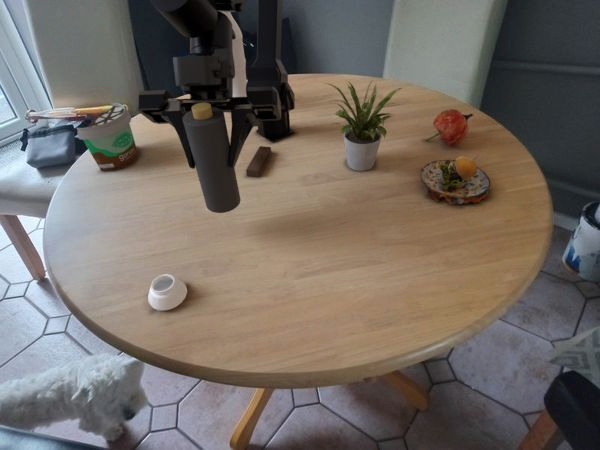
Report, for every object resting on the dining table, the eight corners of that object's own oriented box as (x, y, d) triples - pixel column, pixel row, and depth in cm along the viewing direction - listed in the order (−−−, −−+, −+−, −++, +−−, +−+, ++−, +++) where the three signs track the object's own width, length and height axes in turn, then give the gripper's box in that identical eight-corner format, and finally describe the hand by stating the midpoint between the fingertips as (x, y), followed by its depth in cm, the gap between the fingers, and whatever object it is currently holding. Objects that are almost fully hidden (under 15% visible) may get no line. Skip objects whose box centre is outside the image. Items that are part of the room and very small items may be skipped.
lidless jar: (194, 288, 51) (165, 278, 53) (189, 274, 49) (159, 264, 51) (172, 317, 48) (142, 305, 50) (166, 303, 46) (134, 291, 48)
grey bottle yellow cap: (229, 187, 59) (209, 94, 49) (247, 202, 56) (229, 106, 46) (200, 201, 57) (172, 106, 46) (216, 218, 54) (191, 120, 43)
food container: (124, 177, 73) (104, 131, 66) (96, 175, 74) (74, 129, 67) (154, 146, 82) (139, 102, 75) (129, 144, 83) (112, 101, 76)
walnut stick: (260, 152, 78) (259, 146, 77) (271, 153, 78) (270, 146, 77) (247, 176, 72) (245, 169, 71) (258, 177, 71) (257, 170, 70)
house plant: (306, 174, 71) (303, 90, 60) (332, 141, 80) (334, 63, 69) (378, 191, 66) (389, 103, 55) (398, 153, 75) (410, 71, 64)
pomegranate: (432, 160, 77) (481, 138, 71) (415, 131, 75) (464, 105, 69) (435, 146, 83) (481, 125, 77) (419, 118, 80) (465, 94, 75)
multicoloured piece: (453, 161, 72) (463, 125, 67) (503, 192, 64) (518, 154, 60) (404, 178, 69) (410, 143, 64) (450, 214, 61) (462, 176, 56)
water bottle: (250, 112, 93) (234, -3, 76) (221, 113, 93) (199, -1, 76) (253, 100, 98) (238, -10, 81) (226, 101, 98) (206, -8, 82)
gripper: (113, 24, 44) (112, 155, 43) (271, 17, 43) (273, 151, 42) (155, 69, 55) (154, 173, 54) (280, 64, 54) (282, 170, 53)
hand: (211, 167), depth 50 cm, fingers closed on grey bottle yellow cap, 5 cm apart
